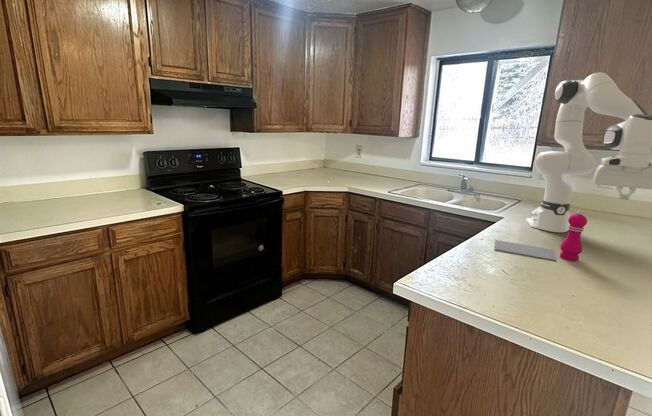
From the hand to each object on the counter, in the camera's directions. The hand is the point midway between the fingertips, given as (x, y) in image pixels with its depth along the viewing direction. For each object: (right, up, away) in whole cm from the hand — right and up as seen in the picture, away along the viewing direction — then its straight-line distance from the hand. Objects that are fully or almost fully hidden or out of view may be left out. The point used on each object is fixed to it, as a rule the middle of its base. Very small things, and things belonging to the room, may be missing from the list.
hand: (623, 199), depth 128 cm
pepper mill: (-12, -24, +12) cm, 29 cm away
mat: (-26, -21, +19) cm, 38 cm away
